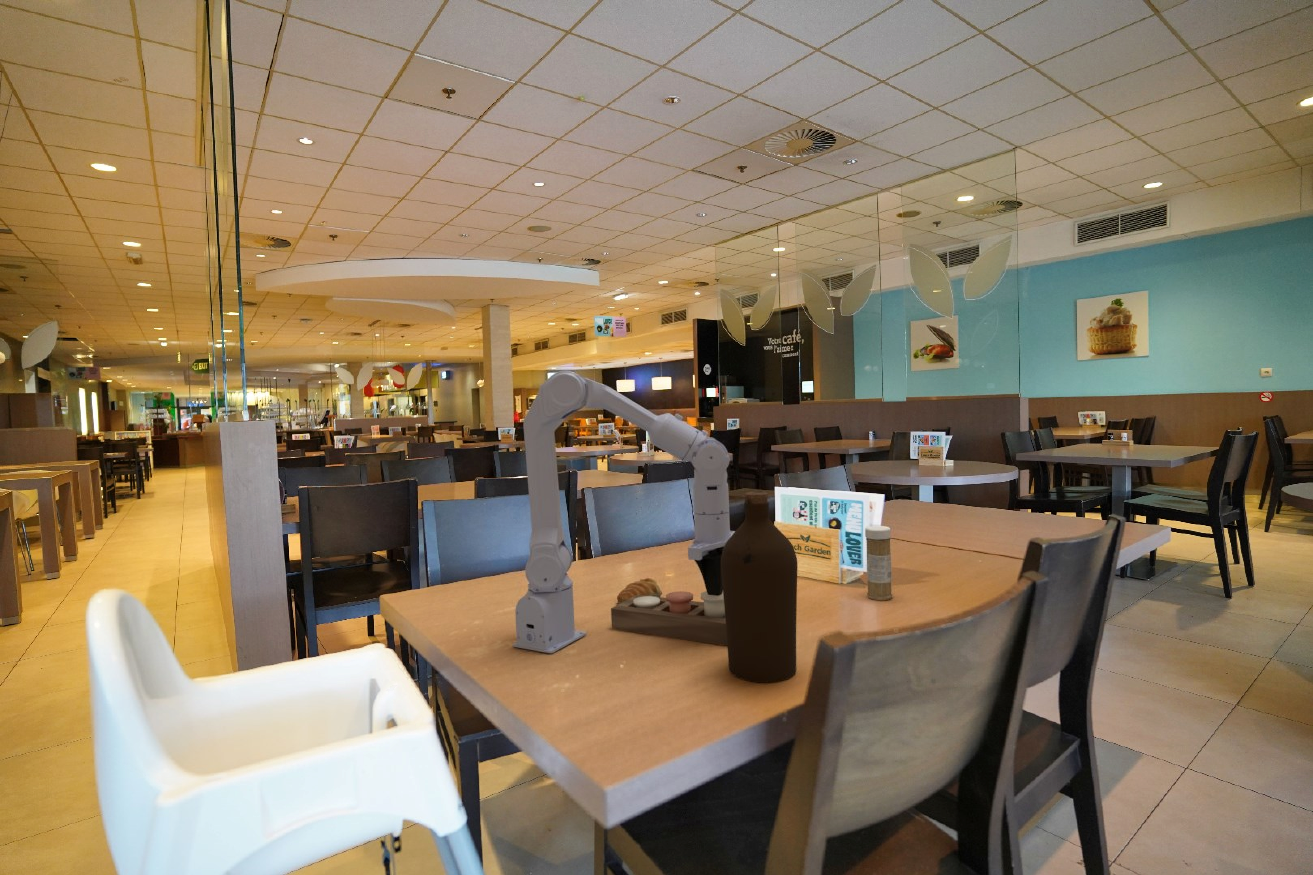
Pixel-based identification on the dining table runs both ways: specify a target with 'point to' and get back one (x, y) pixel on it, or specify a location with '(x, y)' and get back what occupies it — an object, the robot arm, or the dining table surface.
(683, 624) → the plug block
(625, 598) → the pastry
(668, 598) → the red plug
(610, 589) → the dining table surface
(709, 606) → the cream plug
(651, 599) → the cream plug
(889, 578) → the sprinkles bottle
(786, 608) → the olive oil
